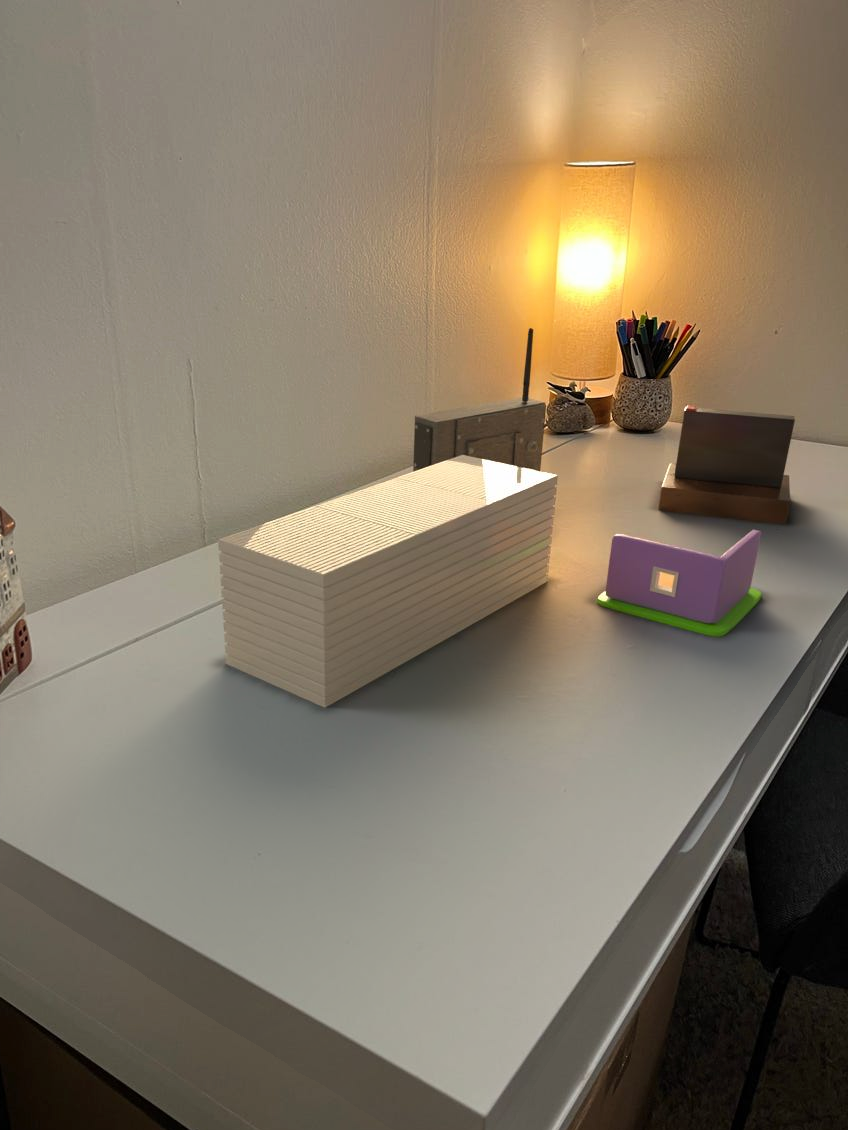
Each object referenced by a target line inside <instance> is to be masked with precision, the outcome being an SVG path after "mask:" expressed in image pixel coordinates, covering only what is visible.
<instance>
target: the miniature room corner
mask: <svg viewBox="0 0 848 1130" xmlns="http://www.w3.org/2000/svg"><path fill="white" fill-rule="evenodd" d="M761 537H762V531H760V530H756V529H752V530H751V531H750V532H749V533H747V534H746V535H745V536H744V537H742V538H741V539H740V540H739V541H738V542H737V543H735V544H734V545H733V546H731V547H730V548H729V549H728V550H727V551H725V552H724V553H723V555H721V556H718V555H715V554H710V553H707V552H702V551H698V550H694V549H689V548H686V547H685V548H684V547H680V546H675V545H672V544H666V543H662V542H658V541H654V540H649V539H645V538H640V537H636V536H631V535H628V534H627V535H626V534H623V533H622V534H621V533H616V534H615V535H613V537H612V539H611V544H610V554H609V561H608V568H607V569H608V570H607V575H606V583H605V584H606V585H605V591H603V592H602V593H600V595H598V597H597V601H596V603H597V605H599V606H602V607H605V608H608V609H610V610H614V611H619V612H621V613H625V614H629V615H633V616H636V617H640V618H643V619H647V620H651V621H654V622H658V623H661V624H665V625H669V626H672V627H676V628H679V629H680V628H681V629H683V630H687V631H691V632H695V633H698V634H702V635H703V634H704V635H707V636H712V637H723V636H725V635H726V634H728V633H729V632H730V631H731V630H733V628H734V627H735V626H737V624H738V623H739V622H740V621H741V620H742V619H744V617H746V615H747V614H748V613H749V612H751V610H752V609H753V608H754V607H755V606H756V605H757V604H758V603H759V601H760V600H761V598H762V592H761V590H758V589H755V588H752V587H751V586H752V581H753V577H754V572H755V567H756V562H757V557H758V552H759V546H760V542H761Z"/></svg>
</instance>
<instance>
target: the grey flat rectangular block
mask: <svg viewBox="0 0 848 1130" xmlns="http://www.w3.org/2000/svg"><path fill="white" fill-rule="evenodd" d="M795 422H796V419H795V415H789V414H775V413H763V412H750V411H739V410H728V409H727V410H726V409H715V408H714V409H713V408H702V407H697V405H687V406H685V408H684V410H683V417H682V424H681V430H680V437H679V441H678V450H677V456H676V462H675V464H676V468H675V474H674V477H677V478H687V479H697V480H707V481H717V482H726V483H736V484H746V485H756V486H766V487H775V488H781V485H782V481H783V476H784V475H785V470H786V465H787V460H788V455H789V450H790V447H791V446H790V445H791V441H792V437H793V431H794V426H795Z"/></svg>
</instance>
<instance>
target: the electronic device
mask: <svg viewBox="0 0 848 1130" xmlns="http://www.w3.org/2000/svg"><path fill="white" fill-rule="evenodd" d="M533 341H534V329H533V328H532V327H530V328H529V329H528V331H527V342H526V353H525V360H524V361H525V362H524V372H523V380H522V381H523V383H522V384H523V385H522V386H523V387H522V395H521V397H515V398H509V399H504V400H498V401H493V402H486V403H481V404H475V405H470V406H464V407H459V408H451V409H447V410H441V411H440V410H439V411H435V412H429V413H424V414H418V415H417V414H416V415H415V416H414V433H413V434H414V435H413V463H412V465H413V466H412V472H415V471H417V470H420V469H423V468H426V467H429V466H432V465H435V464H438V463H440V462H443V461H446V460H449V459H452V458H455V457H458V456H461V455H465V456H470V457H475V458H480V459H484V460H489V461H493V462H498V463H502V464H507V465H512V466H516V467H521V468H526V469H530V470H535V471H539V472H541V468H542V457H543V448H544V447H543V446H544V435H545V424H546V415H547V414H546V413H547V404H546V402H545V401H541V400H537V399H533V398H529V397H530V395H529V394H530V385H531V384H530V383H531V371H532V359H533V358H532V356H533V343H534V342H533Z"/></svg>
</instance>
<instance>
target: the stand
mask: <svg viewBox="0 0 848 1130" xmlns="http://www.w3.org/2000/svg"><path fill="white" fill-rule="evenodd" d="M675 468H676V463H674V462H673V463H672V462H670V463H669V466H668V468H667V471H666V473H665V477H664V479H663V482H662V485H661V488H660V495H659V500H658V501H659V502H658V507H657V509H658V510H659V511H666V512H676V513H684V514H692V515H703V516H710V517H717V518H718V517H719V518H726V519H734V520H742V521H752V522H759V523H760V522H761V523H770V524H778V525H786V523H787V519H788V514H789V511H790V504H791V489H790V488H791V485H790V475H788V474H784V476H783V481H782V485H781V488H775V487H766V486H756V485H746V484H736V483H726V482H717V481H707V480H697V479H687V478H677V477H674V474H675Z"/></svg>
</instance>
